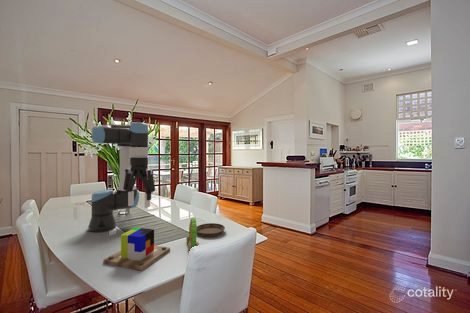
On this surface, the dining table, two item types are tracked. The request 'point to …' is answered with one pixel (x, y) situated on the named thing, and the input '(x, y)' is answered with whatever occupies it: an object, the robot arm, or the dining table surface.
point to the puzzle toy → (137, 243)
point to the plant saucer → (210, 229)
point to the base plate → (136, 263)
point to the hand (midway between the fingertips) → (139, 206)
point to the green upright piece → (192, 234)
